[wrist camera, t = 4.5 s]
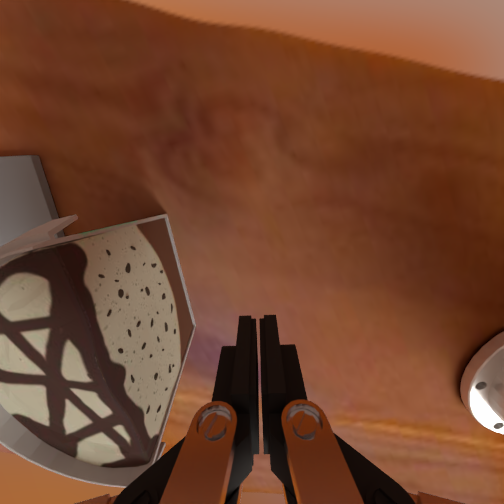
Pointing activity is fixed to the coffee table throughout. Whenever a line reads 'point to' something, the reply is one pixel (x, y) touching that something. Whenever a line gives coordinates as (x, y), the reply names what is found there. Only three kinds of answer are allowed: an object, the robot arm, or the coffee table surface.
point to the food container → (91, 347)
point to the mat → (24, 197)
